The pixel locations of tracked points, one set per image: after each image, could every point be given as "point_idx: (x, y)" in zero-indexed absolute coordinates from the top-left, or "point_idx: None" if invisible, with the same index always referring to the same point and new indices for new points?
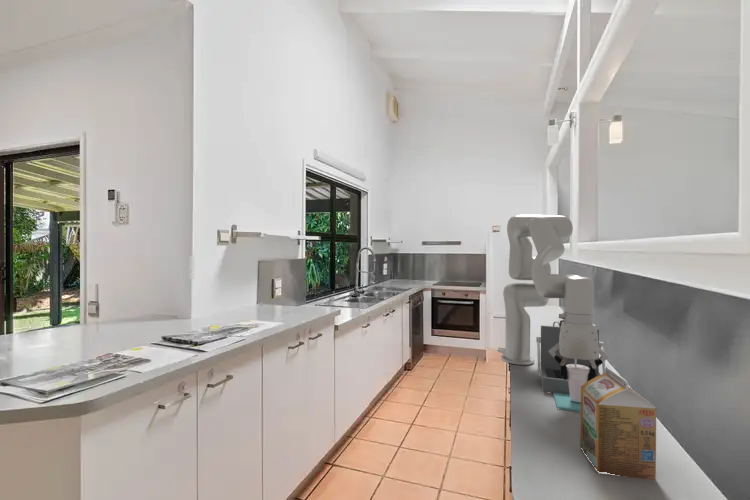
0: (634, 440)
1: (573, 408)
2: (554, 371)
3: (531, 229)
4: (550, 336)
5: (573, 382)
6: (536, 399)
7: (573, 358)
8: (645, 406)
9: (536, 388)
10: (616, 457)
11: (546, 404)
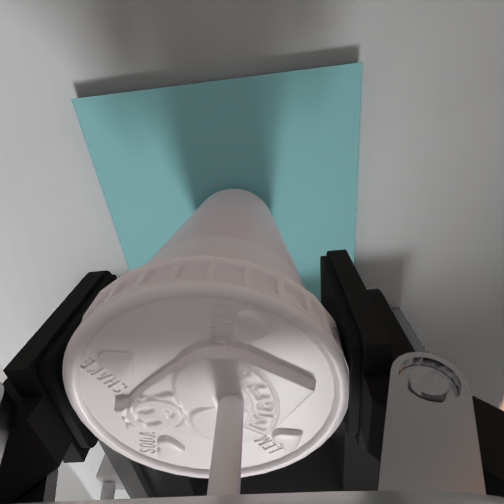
0: None
1: (256, 81)
2: (337, 486)
3: None
4: None
5: (256, 230)
6: (461, 183)
7: (260, 496)
8: None
9: (423, 343)
10: None
11: (415, 120)
